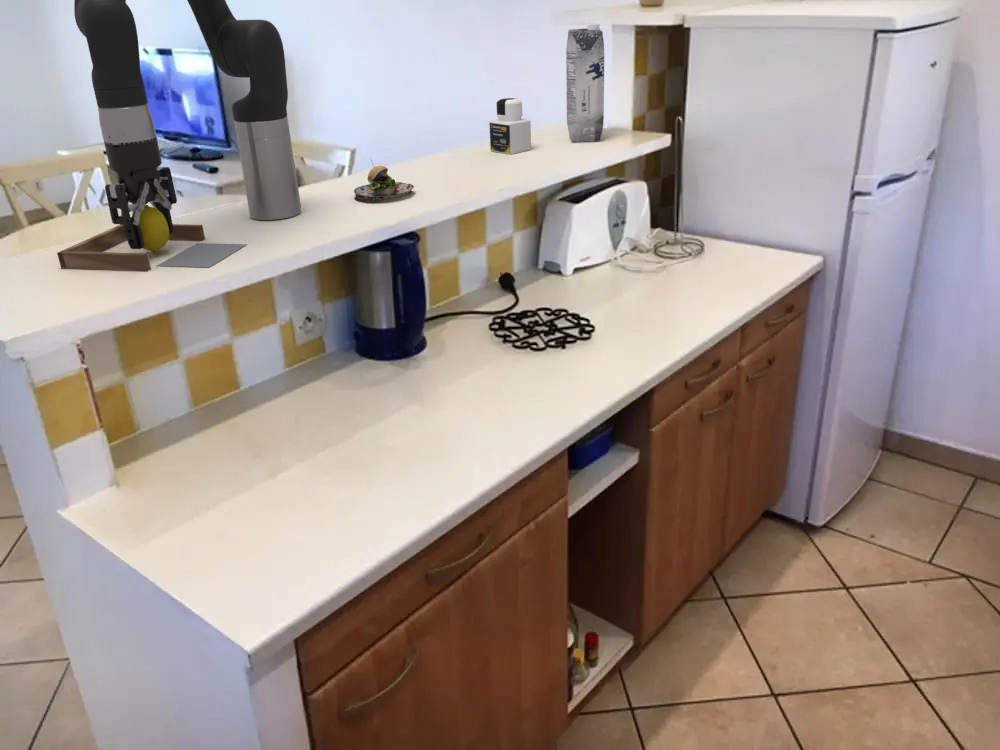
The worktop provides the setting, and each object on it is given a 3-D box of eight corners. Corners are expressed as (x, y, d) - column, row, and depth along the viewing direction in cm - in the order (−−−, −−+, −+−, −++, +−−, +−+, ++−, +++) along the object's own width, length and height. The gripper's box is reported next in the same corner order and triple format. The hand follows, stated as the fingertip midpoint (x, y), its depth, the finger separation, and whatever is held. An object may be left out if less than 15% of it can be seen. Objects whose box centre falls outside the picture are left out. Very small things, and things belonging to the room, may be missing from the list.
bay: (126, 237, 146) (123, 223, 145) (205, 239, 143) (202, 224, 142) (61, 268, 131) (56, 252, 130) (147, 271, 128) (143, 255, 127)
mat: (197, 243, 141) (197, 243, 141) (246, 244, 139) (246, 244, 139) (156, 266, 130) (156, 265, 130) (209, 267, 128) (209, 267, 128)
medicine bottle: (490, 151, 204) (487, 99, 199) (511, 146, 208) (509, 96, 203) (510, 154, 199) (508, 101, 194) (531, 150, 203) (530, 98, 198)
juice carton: (567, 143, 209) (567, 25, 197) (566, 136, 218) (565, 23, 207) (604, 142, 208) (605, 24, 197) (601, 135, 218) (602, 21, 206)
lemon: (179, 248, 139) (169, 200, 135) (164, 258, 134) (153, 209, 130) (147, 248, 139) (136, 200, 136) (130, 259, 134) (119, 209, 131)
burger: (370, 208, 159) (366, 168, 156) (344, 197, 168) (339, 159, 165) (426, 197, 165) (422, 158, 162) (397, 187, 174) (394, 150, 171)
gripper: (135, 128, 135) (156, 228, 142) (77, 145, 123) (104, 253, 130) (177, 128, 134) (197, 229, 141) (123, 144, 121) (148, 254, 128)
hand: (152, 240), depth 135 cm, fingers open, 8 cm apart
